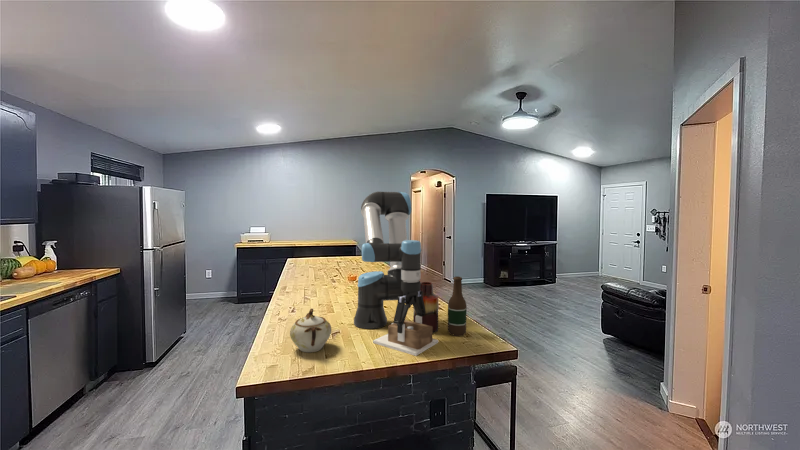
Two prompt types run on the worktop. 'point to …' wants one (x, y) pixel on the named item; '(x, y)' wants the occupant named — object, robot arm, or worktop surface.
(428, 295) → the vase
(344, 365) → the worktop surface
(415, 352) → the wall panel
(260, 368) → the worktop surface
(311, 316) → the sugar bowl
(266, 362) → the worktop surface
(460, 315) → the beer bottle
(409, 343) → the frame
